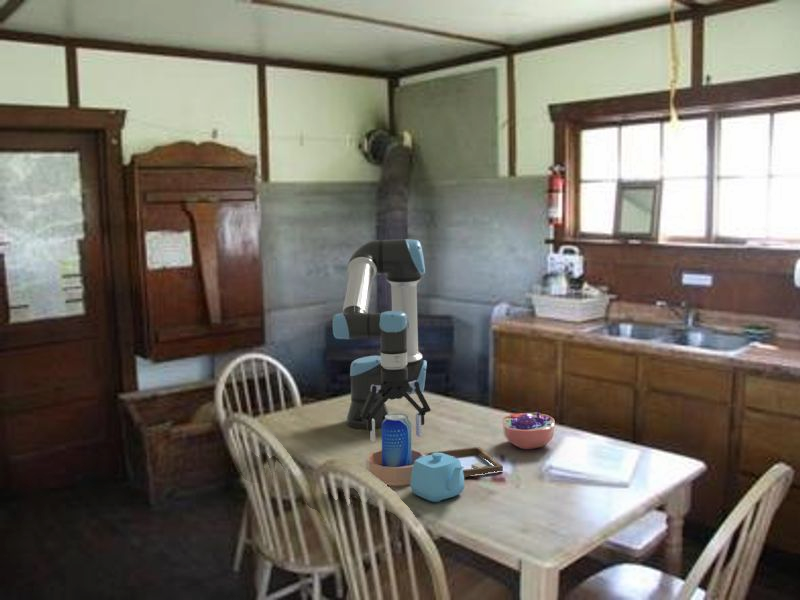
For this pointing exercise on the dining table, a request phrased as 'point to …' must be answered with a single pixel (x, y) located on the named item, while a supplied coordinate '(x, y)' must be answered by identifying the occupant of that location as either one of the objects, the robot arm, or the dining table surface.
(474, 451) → the tray
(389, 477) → the dish
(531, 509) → the dining table surface
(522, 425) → the cell model
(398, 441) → the beer can
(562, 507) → the dining table surface
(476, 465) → the stone
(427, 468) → the teapot
